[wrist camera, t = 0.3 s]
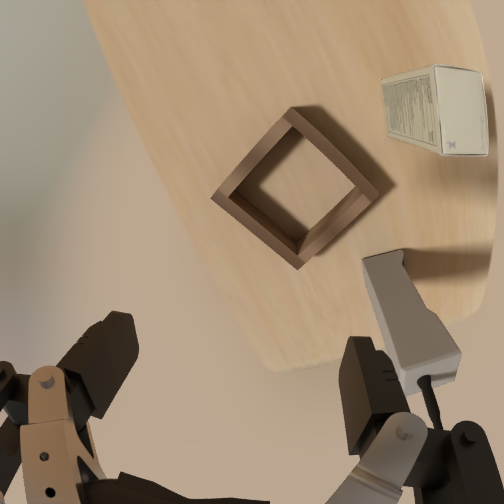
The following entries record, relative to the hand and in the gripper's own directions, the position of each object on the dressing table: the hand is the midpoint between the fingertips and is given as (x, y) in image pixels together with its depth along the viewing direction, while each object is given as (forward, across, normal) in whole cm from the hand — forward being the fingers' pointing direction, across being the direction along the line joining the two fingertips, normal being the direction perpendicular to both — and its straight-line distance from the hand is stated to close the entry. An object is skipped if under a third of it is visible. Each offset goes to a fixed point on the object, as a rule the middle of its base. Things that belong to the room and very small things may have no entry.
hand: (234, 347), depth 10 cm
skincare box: (+21, -13, -12) cm, 28 cm away
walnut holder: (+22, -3, -2) cm, 22 cm away
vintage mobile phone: (+23, -14, +6) cm, 28 cm away
